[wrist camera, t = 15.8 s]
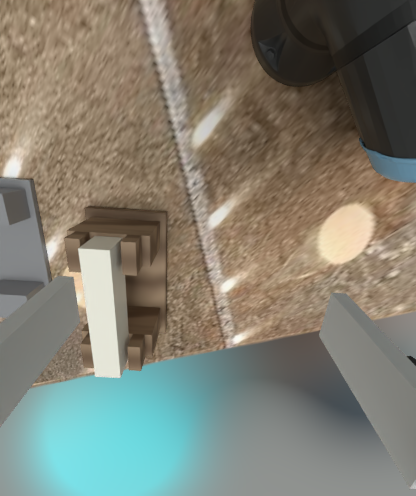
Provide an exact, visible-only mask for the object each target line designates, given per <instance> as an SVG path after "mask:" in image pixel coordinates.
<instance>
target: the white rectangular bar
mask: <svg viewBox="0 0 416 496" xmlns="http://www.w3.org/2000/svg"><path fill="white" fill-rule="evenodd" d="M122 240H123V238H121V237H105V236H94V237H93V238H91V239H90V240H89V241H87V242H86V243H85V244H83V245H82V246H81V247H79V248H78V252H79V259H80V267H81V274H82V281H83V289H84V296H85V304H86V311H87V318H88V326H89V333H90V341H91V348H92V356H93V363H94V370H95V376H97V377H113V378H120V377H121V375H122V373H123V370H124V368H125V365H126V363H127V360H128V344H129V331H128V315H127V299H126V283H125V275H123V272H122V257H121V241H122Z"/></svg>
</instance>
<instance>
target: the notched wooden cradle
mask: <svg viewBox="0 0 416 496" xmlns="http://www.w3.org/2000/svg"><path fill="white" fill-rule="evenodd" d="M85 216H86V220H85V221H83V222H81V223H80V224H78V225H76V226H74V227H72V228H71V229H69V230H67V237H65V238H64V241H65V248H66V254H67V261H68V267H69V272H81V267H80V259H79V252H78V248H79V247H81V246H82V245H83V244H85V243H86V242H87V241H89V240H90V239H91V238H93V237H94V236H105V237H121V238H123V240H122V241H121V257H122V272H123V275H125V283H126V299H127V315H128V331H129V344H128V362H129V370H137V371H141V369H142V366H143V363H144V359H145V357H152V356H153V353H154V349H155V346H156V342H157V338H158V335H159V333H163V334H165V332H166V310H167V212H165V211H151V210H136V209H121V208H106V207H91V206H88V207H86V208H85ZM82 337H83V341H82V343H81V344H80V345H81V351H82V358H83V364H84V368H94V363H93V356H92V348H91V341H90V333H89V326H88V323H87V324H86V325H85V327H84V328H83V330H82Z"/></svg>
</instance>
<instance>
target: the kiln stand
mask: <svg viewBox="0 0 416 496" xmlns="http://www.w3.org/2000/svg"><path fill="white" fill-rule="evenodd" d="M51 281H52V278H51V273H50V267H49V262H48V257H47V251H46V246H45V240H44V235H43V230H42V224H41V219H40V214H39V208H38V203H37V197H36V192H35V187H34V181H33V180H30V179H16V178H1V177H0V317H4V318H7V317H9V316H10V315H11V314H12V313H14V312H15V311H16V310H17V309H18V308H20V307H21V306H22V305H23V304H24V303H26V302H27V301H28V300H29V299H31V298H32V297H33V296H34V295H35V294H37V293H38V292H39V291H40V290H41V289H43V288H44V287H45V286H46V285H48V284H49V283H50V282H51Z"/></svg>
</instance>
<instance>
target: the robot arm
mask: <svg viewBox="0 0 416 496" xmlns="http://www.w3.org/2000/svg"><path fill="white" fill-rule="evenodd" d="M251 38H252V44H253V48H254V51H255V54H256V57H257V59H258V61H259V63H260V64H261V66H262V67H263V69H264V70H265V71H266V72H267V73H268V74H269V75H270V76H271V77H272V78H273V79H275V80H276V81H278V82H280V83H282V84H285V85H289V86H297V87H300V86H308V85H311V84H314V83H317V82H319V81H321V80H323V79H325V78H326V77H328V76H329V75H331V74H332V73H334V72H335V71H336V70H337V74H338V77H339V80H340V83H341V85H342V88H343V91H344V94H345V96H346V99H347V102H348V105H349V108H350V110H351V113H352V116H353V119H354V121H355V124H356V127H357V130H358V132H359V135H360V138H359V141H360V144H361V146H362V148H363V149H364V150H365V151H366V153H367V155H368V158H369V160H370V162H371V165H372V167H373V168H374V170H375V171H376V172H377V173H380V174H381V175H382V176H384V177H385V178H388V179H391V180H395V181H400V182H413V183H416V0H255V2H254V6H253V11H252V17H251ZM79 323H80V318H79V312H78V305H77V298H76V291H75V285H74V278H73V277H67V276H57V277H56V278H55V279H54V280H52V281H51V282H50V283H49V284H48V285H46V286H45V287H44V288H43V289H41V290H40V291H39V292H38V293H37V294H35V295H34V296H33V297H32V298H31V299H29V300H28V301H27V302H26V303H24V304H23V305H22V306H21V307H20V308H18V309H17V310H16V311H15V312H14V313H12V314H11V315H10V316H9V317H7V318H6V319H5V320H4V321H3V322H1V323H0V427H1V425H2V424H3V423H4V421H5V420H6V419H7V417H8V416H9V415H10V413H11V412H12V411H13V409H14V408H15V407H16V406H17V404H18V403H19V402H20V400H21V399H22V398H23V396H24V395H25V394H26V392H27V391H28V390H29V389H30V387H31V386H32V385H33V383H34V382H35V381H36V379H37V378H38V377H39V375H40V374H41V373H42V371H43V370H44V369H45V367H46V366H47V365H48V363H49V362H50V361H51V360H52V358H53V357H54V356H55V354H56V353H57V352H58V350H59V349H60V348H61V346H62V345H63V344H64V342H65V341H66V340H67V338H68V337H69V336H70V334H71V333H72V332H73V331H74V329H75V328H76V327H77V325H78V324H79ZM319 337H320V338H321V340H322V341H323V343H324V345H325V347H326V348H327V350H328V352H329V353H330V355H331V357H332V358H333V360H334V362H335V363H336V365H337V367H338V369H339V370H340V372H341V374H342V375H343V377H344V379H345V380H346V382H347V384H348V385H349V387H350V389H351V390H352V392H353V394H354V395H355V397H356V399H357V400H358V402H359V403H360V405H361V407H362V409H363V410H364V412H365V414H366V415H367V417H368V419H369V420H370V422H371V424H372V426H373V427H374V429H375V431H376V432H377V434H378V436H379V437H380V439H381V441H382V442H383V444H384V446H385V447H386V449H387V451H388V453H389V454H390V456H391V458H392V459H393V461H394V462H395V464H396V466H397V468H398V469H399V471H400V473H401V474H402V476H403V478H404V479H405V481H406V483H407V484H408V486H409V488H410V489H411V488H412V489H416V359H414V358H413V357H411V356H406V355H405V354H404V353H403V352H402V351H401V350H400V349H399V348H398V347H397V346H396V345H395V344H394V343H393V342H392V341H391V340H390V339H389V338H388V337H387V336H386V335H385V334H384V332H382V330H381V329H380V328H379V327H378V326H377V325H376V324H375V323H374V322H373V321H372V320H371V319H370V318H369V317H368V316H367V315H366V314H365V313H364V312H363V311H362V310H361V309H360V308H359V307H358V305H357V304H356V303H355V302H354V301H353V300H352V299H351V298H350V297H349V296H348V295H347V294H343V293H331V296H330V300H329V303H328V306H327V310H326V313H325V317H324V320H323V324H322V327H321V331H320V334H319Z"/></svg>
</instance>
